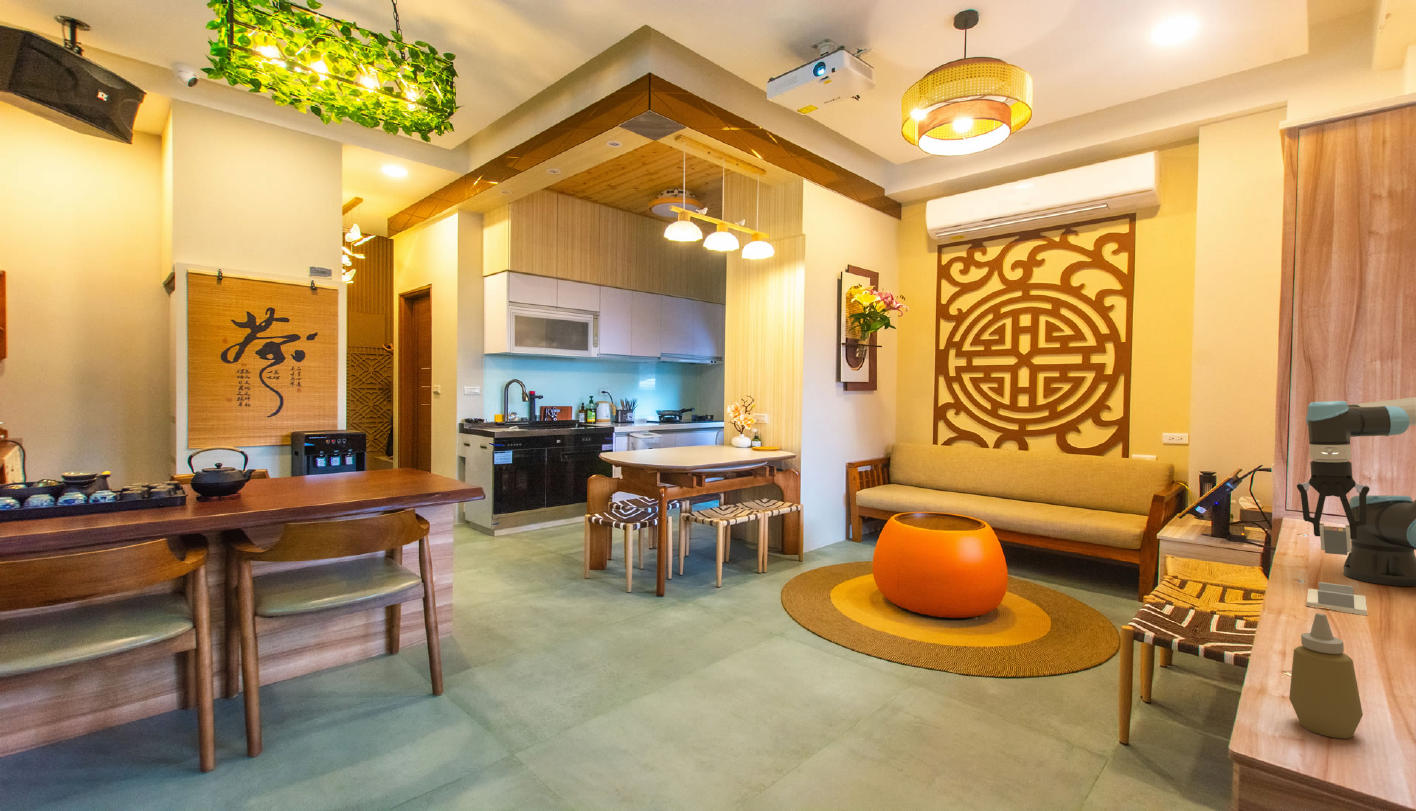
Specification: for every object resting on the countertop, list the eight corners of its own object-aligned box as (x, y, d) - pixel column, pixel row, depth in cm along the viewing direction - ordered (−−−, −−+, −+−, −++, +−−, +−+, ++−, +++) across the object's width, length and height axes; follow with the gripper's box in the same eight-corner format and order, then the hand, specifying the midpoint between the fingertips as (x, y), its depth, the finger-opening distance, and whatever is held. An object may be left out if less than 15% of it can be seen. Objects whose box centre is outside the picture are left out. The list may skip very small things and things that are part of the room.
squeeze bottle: (1380, 743, 91) (1374, 622, 91) (1325, 744, 91) (1320, 624, 91) (1326, 715, 99) (1321, 605, 99) (1276, 717, 99) (1271, 607, 99)
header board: (1308, 592, 158) (1308, 576, 158) (1365, 600, 151) (1364, 583, 151) (1306, 606, 148) (1306, 589, 148) (1367, 615, 141) (1366, 597, 141)
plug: (1325, 548, 161) (1323, 525, 161) (1347, 550, 158) (1345, 527, 158) (1325, 553, 157) (1323, 529, 157) (1347, 555, 154) (1345, 531, 154)
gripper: (1284, 461, 161) (1289, 548, 161) (1379, 462, 149) (1385, 557, 149) (1286, 458, 167) (1291, 543, 166) (1378, 459, 154) (1384, 551, 154)
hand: (1336, 549), depth 158 cm, fingers closed on plug, 4 cm apart
